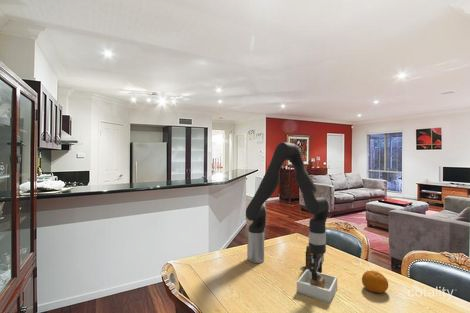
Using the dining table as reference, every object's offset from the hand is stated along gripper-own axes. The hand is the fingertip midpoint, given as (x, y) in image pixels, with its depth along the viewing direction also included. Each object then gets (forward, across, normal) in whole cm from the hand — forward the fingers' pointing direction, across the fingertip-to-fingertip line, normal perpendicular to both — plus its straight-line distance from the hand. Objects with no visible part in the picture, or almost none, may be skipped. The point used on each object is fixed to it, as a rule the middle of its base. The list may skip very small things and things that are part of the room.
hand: (316, 276), depth 111 cm
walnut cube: (+6, 0, 0) cm, 6 cm away
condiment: (+7, -19, -9) cm, 22 cm away
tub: (+6, 0, 0) cm, 6 cm away
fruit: (+6, -15, +22) cm, 28 cm away
